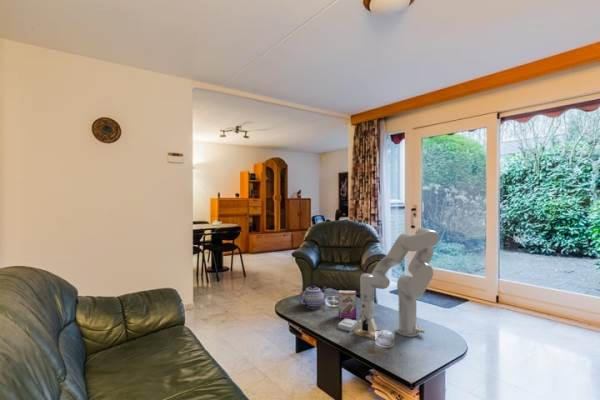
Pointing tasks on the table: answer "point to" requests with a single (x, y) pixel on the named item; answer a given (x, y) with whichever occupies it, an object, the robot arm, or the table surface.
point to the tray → (366, 334)
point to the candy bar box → (347, 304)
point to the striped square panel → (347, 324)
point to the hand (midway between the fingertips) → (366, 328)
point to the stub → (369, 325)
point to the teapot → (312, 297)
